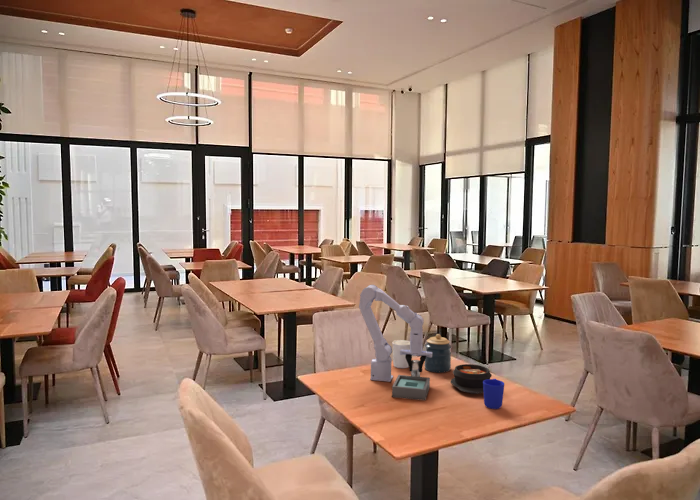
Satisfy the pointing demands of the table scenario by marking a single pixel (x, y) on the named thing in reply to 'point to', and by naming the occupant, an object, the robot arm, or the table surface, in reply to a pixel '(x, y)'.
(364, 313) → the robot arm
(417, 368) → the peg
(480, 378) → the casserole
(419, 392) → the tray
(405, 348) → the candle holder
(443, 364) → the canister
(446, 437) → the table surface
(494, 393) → the mug
